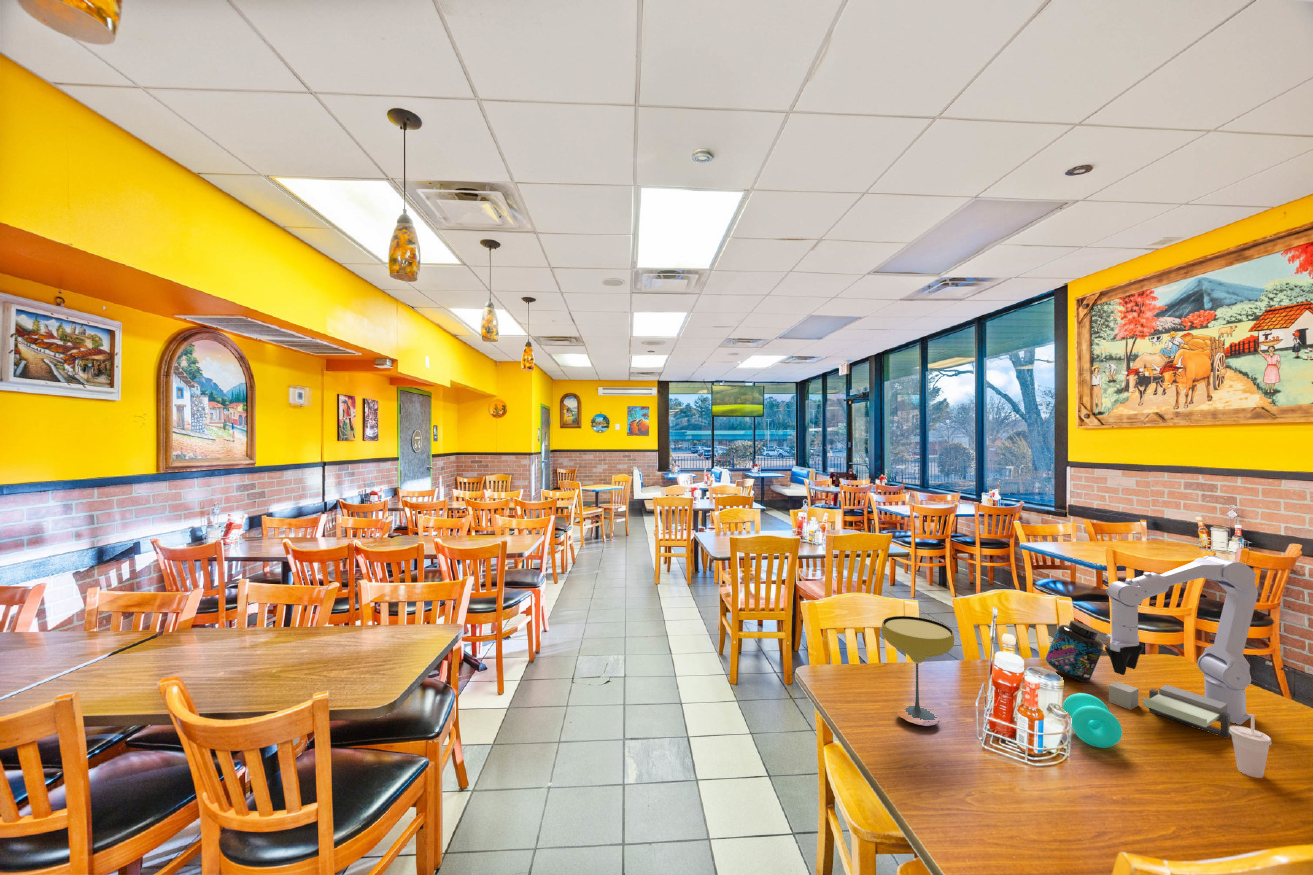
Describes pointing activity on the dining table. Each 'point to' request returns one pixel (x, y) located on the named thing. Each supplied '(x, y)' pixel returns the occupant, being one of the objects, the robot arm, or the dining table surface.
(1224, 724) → the frame
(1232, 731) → the smoothie
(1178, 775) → the dining table surface
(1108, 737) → the teal yo-yo
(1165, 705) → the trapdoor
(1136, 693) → the grey cube
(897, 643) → the cocktail glass
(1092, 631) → the container
